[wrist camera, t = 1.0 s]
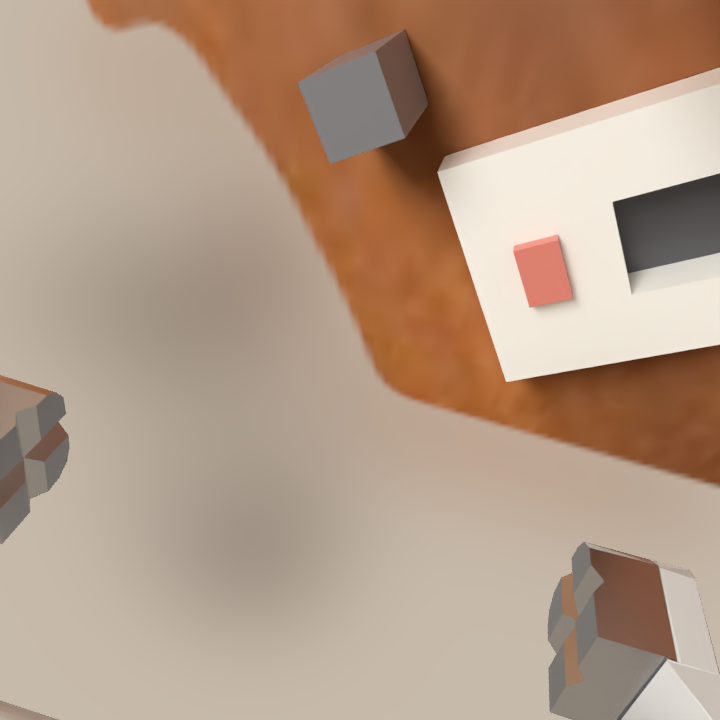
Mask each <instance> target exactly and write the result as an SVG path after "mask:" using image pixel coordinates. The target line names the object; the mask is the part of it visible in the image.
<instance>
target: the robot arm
mask: <svg viewBox="0 0 720 720" xmlns="http://www.w3.org/2000/svg"><path fill="white" fill-rule="evenodd" d="M65 414H66V411H65V404H64V398H63V397H62V396H61V395H59V394H58V393H55V392H53V391H49V390H46V389H43V388H39V387H36V386H33V385H30V384H27V383H24V382H20V381H17V380H14V379H11V378H8V377H4V376H1V375H0V544H2V543H3V542H4V541H5V540H6V539H7V538H8V537H9V535H10V534H11V533H12V532H13V531H14V530H15V529H16V528H17V526H18V525H19V524H20V523H21V522H22V521H23V519H24V518H25V517H26V516H27V515H28V514H29V513H30V499H31V498H33V497H36V496H38V495H40V494H42V493H45V492H48V491H49V490H50V488H51V487H52V486H53V485H54V483H55V482H56V481H57V480H58V479H59V477H60V475H61V473H62V470H63V468H64V466H65V464H66V462H67V458H68V452H69V438H68V434H67V433H66V432H65V430H64V429H63V428H62V427H61V425H60V424H59V422H58V421H59V420H60V419H61V418H62V417H63V416H64V415H65ZM548 641H549V642H550V644H551V646H552V647H553V649H554V650H555V652H556V653H557V654H556V656H555V658H554V660H553V661H552V663H551V665H550V666H549V700H550V712H551V713H554V714H557V715H560V716H563V717H566V718H569V719H572V720H720V672H719V668H718V665H717V661H716V657H715V653H714V649H713V646H712V642H711V638H710V634H709V630H708V626H707V623H706V619H705V615H704V611H703V607H702V603H701V599H700V595H699V592H698V588H697V584H696V580H695V577H694V576H693V574H692V573H691V572H690V570H686V569H682V568H679V567H675V566H671V565H668V564H664V563H660V562H657V561H651V560H649V559H645V558H641V557H638V556H634V555H630V554H627V553H623V552H620V551H616V550H612V549H609V548H605V547H601V546H597V545H594V544H590V543H587V542H583V543H582V544H581V545H580V546H579V547H578V548H577V550H576V552H575V553H574V555H573V557H572V573H571V574H569V575H566V576H564V577H562V578H561V579H560V581H559V583H558V586H557V588H556V590H555V592H554V595H553V598H552V602H551V606H550V610H549V619H548ZM0 720H58V719H55V718H52V717H49V716H46V715H42V714H39V713H36V712H33V711H30V710H27V709H24V708H21V707H18V706H15V705H12V704H9V703H6V702H3V701H0Z"/></svg>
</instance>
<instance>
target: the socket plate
mask: <svg viewBox="0 0 720 720" xmlns="http://www.w3.org/2000/svg"><path fill="white" fill-rule="evenodd" d="M437 173H438V176H439V179H440V182H441V185H442V188H443V191H444V194H445V197H446V200H447V203H448V206H449V209H450V213H451V216H452V219H453V222H454V225H455V228H456V231H457V234H458V237H459V240H460V243H461V246H462V249H463V252H464V255H465V258H466V261H467V264H468V267H469V270H470V273H471V276H472V279H473V282H474V285H475V288H476V291H477V295H478V298H479V301H480V304H481V307H482V310H483V313H484V316H485V319H486V322H487V325H488V328H489V331H490V334H491V337H492V340H493V343H494V346H495V349H496V352H497V355H498V358H499V361H500V364H501V367H502V370H503V373H504V377H505V380H506V382H509V381H514V380H520V379H526V378H532V377H537V376H543V375H549V374H554V373H560V372H566V371H571V370H577V369H583V368H589V367H594V366H600V365H606V364H611V363H617V362H623V361H629V360H634V359H640V358H646V357H651V356H657V355H663V354H668V353H674V352H680V351H686V350H691V349H697V348H703V347H708V346H714V345H720V68H716V69H713V70H710V71H707V72H704V73H701V74H698V75H695V76H692V77H689V78H685V79H682V80H679V81H676V82H673V83H670V84H667V85H664V86H661V87H657V88H654V89H651V90H648V91H645V92H642V93H639V94H636V95H633V96H630V97H626V98H623V99H620V100H617V101H614V102H611V103H608V104H605V105H602V106H599V107H595V108H592V109H589V110H586V111H583V112H580V113H577V114H574V115H571V116H568V117H564V118H561V119H558V120H555V121H552V122H549V123H546V124H543V125H540V126H536V127H533V128H530V129H527V130H524V131H521V132H518V133H515V134H512V135H509V136H505V137H502V138H499V139H496V140H493V141H490V142H487V143H484V144H481V145H478V146H474V147H471V148H468V149H465V150H462V151H459V152H456V153H453V154H450V155H447V156H445V157H444V159H443V161H442V163H441V165H440V168H439V170H438V172H437Z"/></svg>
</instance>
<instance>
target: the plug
mask: <svg viewBox="0 0 720 720" xmlns="http://www.w3.org/2000/svg"><path fill="white" fill-rule="evenodd" d="M298 85H299V88H300V90H301V93H302V95H303V98H304V100H305V103H306V105H307V108H308V110H309V113H310V115H311V117H312V120H313V122H314V125H315V127H316V130H317V132H318V135H319V137H320V140H321V142H322V145H323V147H324V150H325V152H326V155H327V157H328V160H329V162H330V164H331V163H334V162H337V161H340V160H343V159H346V158H349V157H352V156H355V155H358V154H360V153H363V152H366V151H369V150H372V149H375V148H378V147H381V146H384V145H387V144H390V143H393V142H396V141H399V140H401V139H404V138H406V136H407V135H408V133H409V132H410V130H411V129H412V127H413V126H414V125H415V123H416V122H417V120H418V119H419V117H420V116H421V114H422V113H423V112H424V110H425V109H426V107H427V106H428V101H427V98H426V95H425V91H424V88H423V85H422V82H421V79H420V76H419V73H418V70H417V66H416V63H415V60H414V57H413V54H412V51H411V48H410V45H409V41H408V38H407V35H406V32H405V29H404V30H402V31H399V32H397V33H394V34H392V35H390V36H387V37H385V38H382V39H380V40H377V41H375V42H373V43H370V44H368V45H365V46H363V47H360V48H358V49H356V50H353V51H351V52H348V53H346V54H343V55H341V56H339V57H337V58H335V59H334V60H332V61H330V62H329V63H327V64H326V65H324V66H323V67H321V68H320V69H318V70H316V71H315V72H313V73H312V74H310V75H309V76H307V77H306V78H304V79H302V80H301V81H299V82H298Z"/></svg>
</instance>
